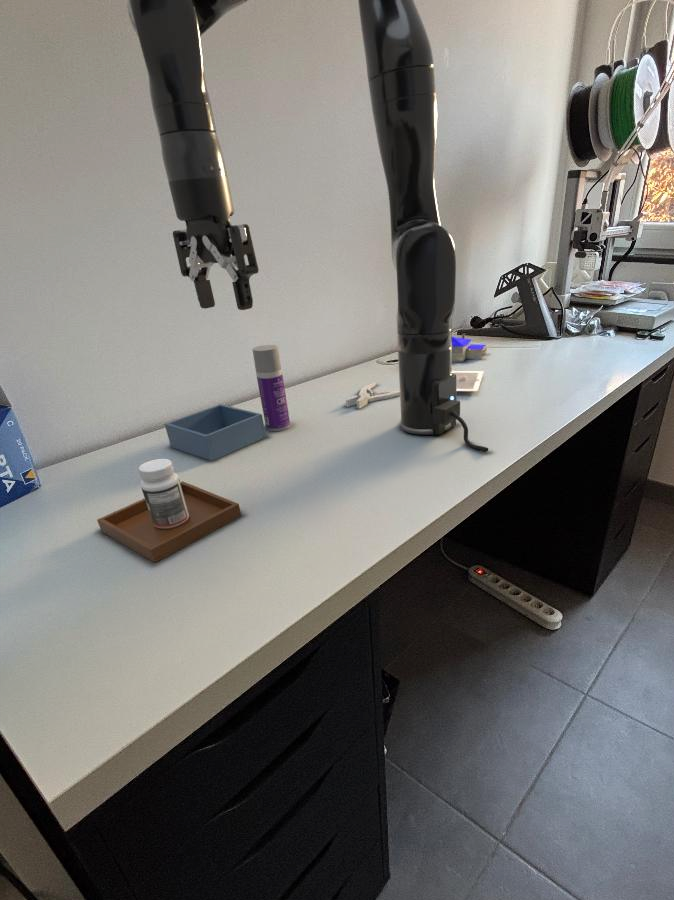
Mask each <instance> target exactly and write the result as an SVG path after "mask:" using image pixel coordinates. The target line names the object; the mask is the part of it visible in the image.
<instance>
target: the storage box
mask: <svg viewBox="0 0 674 900" xmlns="http://www.w3.org/2000/svg"><path fill="white" fill-rule="evenodd" d="M164 427H165V431H166V435H167V438H168V441H169V445H170V447H171V448H173V449H175V450H178V451H181V452H184V453H187V454H188V455H189V454H190V455H193V456H195V457H198V458H201V459H204V460H207V461H210V462H213V461H215V460H218V459H220V458H222V457H225V456H227V455H229V454H232V453H233V452H236V451H238V450H241V449H243V448H245V447H247V446H250V445H252V444H254V443H257V442H259V441H261V440H263V439H266V438H267V434H266V428H265V422H264V417H263V413H259V412H256V411H255V412H254V411H250V410H246V409H241V408H238V407H234V406H230V405H226V404H222V403H219V404H217V405H214V406H212V407H208V408H205V409H203V410H200V411H197V412H194V413H191V414H188V415H186V416H183V417H180V418H176V419H175V420H172V421H169V422H165V423H164Z"/></svg>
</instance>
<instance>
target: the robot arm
mask: <svg viewBox="0 0 674 900" xmlns="http://www.w3.org/2000/svg"><path fill="white" fill-rule="evenodd" d="M248 1H249V0H126V6H127V13H128V18H129V21H130V22H129V23H130V24H131V26H132V29H133V30H134V32H135V35H136V36H137V37H138V40H139V46H140V48H141V52H142V56H143V60H144V64H145V68H146V71H147V76H148V88H149V89H148V90H149V96H150V102H151V107H152V111H153V115H154V116H153V117H154V120H155V125H156V128H157V132H158V136H159V140H160V142H159V143H160V148H161V149H160V150H161V156H162V161H163V166H164V170H165V174H166V177H167V182H168V185H169V186H168V187H169V190H170V194H171V195H170V196H171V199H172V203H173V208H174V211H175V214H176V215H175V216H176V218H177V219H178V221H181V222H183V221H184V223H185V226H186V229H178V230H173V231H172V238H173V242H174V246H175V251H176V256H177V261H178V266H179V270H180V274H181V276H183V277H188V278H189V279H190V281H191V282H193V284H194V289H195V292H196V296H197V300H198V304H199V306H200V308H201V309H205V310H206V309H210V308H214V307H215V306H216V301H215V297H214V292H213V289H212V283H211V280H210V279H208V278H209V275H210V270H211V267H213V266H214V264H218V265H219V266H220V267H221V268H222V269H224V270H226V272H227V274H228V275H229V277H230V278H231V280H232V287H233V293H234V298H235V302H236V307H237V309H238V310H239V311H245V310H250V309H252V308H253V305H254V299H253V294H252V289H251V285H250V284H251V283H250V279H251V277H252V276H254V275H256V274H258V273H259V270H260V269H259V264H258V261H257V256H256V252H255V247H254V243H253V238H252V234H251V233H252V232H251V228H250V226H249V225H248V224H247V223H243V224H234V225H232V222H231V220H230V217H233V215H234V214H235V208H234V204H233V203H234V202H233V199H232V193H231V188H230V184H229V178H228V173H227V168H226V163H225V158H224V153H223V150H222V146H221V144H220V140H219V136H218V133H217V127H216V122H215V117H214V113H213V112H214V111H213V107H212V103H211V98H210V94H209V90H208V86H207V80H206V77H205V64H204V56H203V47H202V40H201V39H202V38H201V36H202V35H204V34H205V33H206V32H207V31H208V30H209V29H211V28H212V27H213V26H214V25H215V24H217V22H218V21H220V19H222V18H223V17H225V15H226V14H228V13H229V12H231V11H233V10H234V9H237V8H238V7H240V6H242V5H244V4H245V3H247V2H248ZM357 1H358V9H359V10H358V11H359V19H360V27H361V35H362V42H363V49H364V57H365V65H366V75H367V82H368V84H367V85H368V90H369V98H370V103H371V104H370V105H371V112H372V117H373V122H374V128H375V134H376V139H377V145H378V150H379V154H380V159H381V164H382V168H383V173H384V177H385V181H386V187H387V193H388V203H389V219H390V242H391V243H390V245H391V260H392V265H393V267H394V269H395V271H396V291H397V310H396V311H397V312H396V334H397V335H396V338H397V359H398V361H397V362H398V383H399V390H400V395H399V403H400V428H401V429H402V431H404V432H406V433H408V434H412V435H420V436H427V435H428V436H429V435H433V436H440V435H442V434H443V433H445V432H447V431H449V430H450V429H452V428H454V427H455V426H457V421H458V423H460V425H461V426H462V429H463V441H464V443H465V445H466V446H467V447H469V448H470V449H473V450H475V451H481V452H485V453H487V452H488V451H489V447H486V446H482V445H476V444H473V443H472V442H471V441H470V440H469V428H468V425H467V423H466V422H465V420H464V419H463V418H462V417H461V401H460V400H457V391H456V379H457V376H456V374H455V373H452V371H453V369H452V368H453V362H452V337H453V316H454V312H455V307H456V285H457V284H456V281H457V280H456V279H457V254H456V246H455V242H454V240H453V237H452V236H451V234H450V232H449V231H448V230H447V229H446V228H445V227H444V226H442V225H441V220H440V215H439V209H438V208H439V207H438V203H437V196H436V186H435V167H436V166H435V165H436V152H437V140H438V139H437V138H438V96H437V95H438V94H437V85H436V73H435V63H434V57H433V51H432V46H431V42H430V39H429V36H428V33H427V30H426V27H425V24H424V23H423V20H422V17H421V15H420V13H419V11H418V8H417V5H416V3H415V0H357ZM245 255H246V258H247V262H248V264H247V263H246V259H245ZM187 258H188V263H187ZM188 264H190V266H188Z"/></svg>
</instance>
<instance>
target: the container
mask: <svg viewBox="0 0 674 900" xmlns="http://www.w3.org/2000/svg"><path fill="white" fill-rule="evenodd" d="M252 354H253V363H254V368H255V375H256V380H257V381H256V382H257V386H258V393H259V396H260V403H261V408H262V415H263V421H264V426H265V430H267V431H269V432H282V431H285V430H287V429H289V428H290V427H291V421H290V414H289V408H288V407H289V406H288V401H287V395H286V389H285V381H284V374H283V369H282V364H281V359H280V352H279V348H278V345H275V344H264V345H258V346H255V347H253V348H252Z"/></svg>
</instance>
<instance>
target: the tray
mask: <svg viewBox="0 0 674 900" xmlns="http://www.w3.org/2000/svg"><path fill="white" fill-rule="evenodd" d="M180 484H181V487H182V491H183V494H184V498H185V501H186V505H187V508H188V512H189V518H188V520H187V521H186V522H185V523H183V524H182V525H180V526H178V527H175V528H170V529H160V528H157V527H155V526H154V524H153V522H152V519H151V516H150V513H149V510H148V507H147V504H146V501H145V498H142V499H140V500H138V501H135V502H133V503H131V504H129V505H127V506H125V507H122V508H119V509H117V510H116V511H115V510H114V511H113V512H111V513H109V514H106V515H104V516H102V517H100V518H98V519H96V521H97V524H98V526H99V529H100V532H101V533H103V534H105V535H107V536H109V537H110V538H111V539H113V540H115V541H117V542H118V543H120V544H122V545H124V546H126V547H127V548H129V549H131V550H133V551H134V552H136V553H138V554H139V555H141V556H143V557H144V558H146V559H148V560H150V561H151V562H153V563H158V562H159V561H161V560H163V559H165V558H166V557H169V556H171V555H172V554H174V553H176V552H178V551H180V550H181V549H183V548H185V547H187V546H189V545H190V544H192V543H194V542H196V541H198V540H200V539H202V538H203V537H206V536H207V535H209V534H211V533H212V532H214V531H216V530H218V529H220V528H222V527H223V526H226V525H227V524H229V523H231V522H233V521H235V520H236V519H239V518H240V517H242V512H241V507H240V503H237V502H236V501H233V500H231V499H228V498H225V497H223V496H220V495H218V494H215V493H213V492H210V491H208V490H206V489H203V488H201V487H198V486H195V485H193V484H190V483H189V482H186V481H183V480H182V481H180Z"/></svg>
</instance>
